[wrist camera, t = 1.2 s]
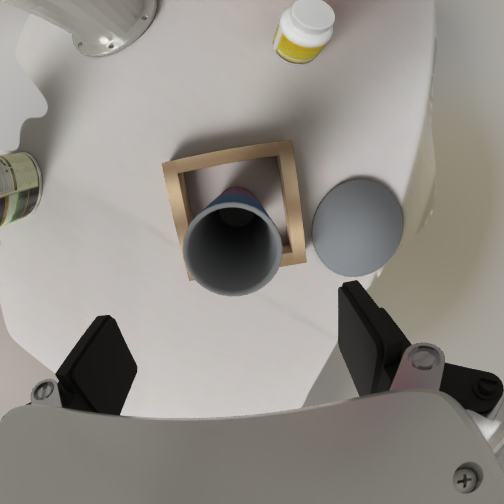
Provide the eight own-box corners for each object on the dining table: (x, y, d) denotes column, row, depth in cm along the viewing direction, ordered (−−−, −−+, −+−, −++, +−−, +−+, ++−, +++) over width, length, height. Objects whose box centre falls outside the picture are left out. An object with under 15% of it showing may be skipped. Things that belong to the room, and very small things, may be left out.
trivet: (306, 184, 32) (307, 185, 31) (399, 175, 32) (401, 176, 31) (315, 282, 36) (316, 284, 36) (399, 265, 36) (401, 267, 36)
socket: (168, 162, 30) (161, 163, 28) (287, 140, 30) (291, 139, 27) (193, 270, 35) (189, 280, 33) (301, 253, 35) (306, 262, 32)
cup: (276, 195, 32) (301, 230, 18) (249, 244, 34) (254, 310, 20) (224, 169, 31) (207, 184, 17) (199, 220, 33) (168, 272, 19)
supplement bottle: (321, 64, 27) (349, 36, 17) (278, 68, 27) (291, 37, 18) (310, 28, 25) (333, -8, 16) (268, 31, 25) (276, -8, 16)
